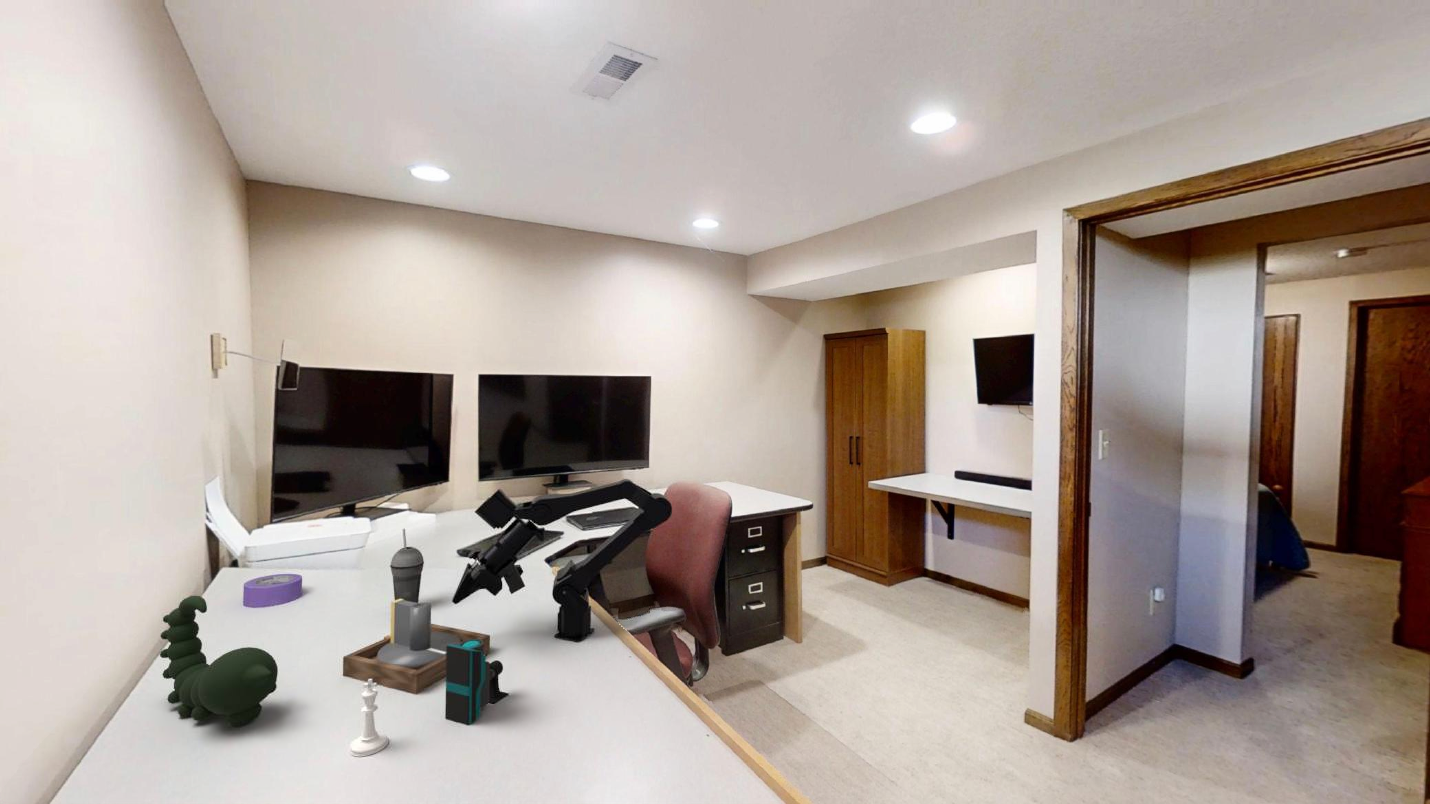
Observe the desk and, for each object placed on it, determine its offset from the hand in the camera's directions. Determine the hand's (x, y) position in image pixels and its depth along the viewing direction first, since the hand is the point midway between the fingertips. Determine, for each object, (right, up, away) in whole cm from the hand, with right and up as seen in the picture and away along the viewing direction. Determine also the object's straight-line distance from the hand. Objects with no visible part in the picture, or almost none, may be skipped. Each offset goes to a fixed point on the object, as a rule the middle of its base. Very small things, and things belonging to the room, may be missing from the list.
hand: (453, 602), depth 117 cm
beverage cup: (-21, -9, +20) cm, 30 cm away
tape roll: (-58, -9, +27) cm, 65 cm away
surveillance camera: (+14, -10, -21) cm, 28 cm away
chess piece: (+2, -10, -33) cm, 34 cm away
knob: (-4, -8, -6) cm, 11 cm away
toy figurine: (-27, -9, -25) cm, 38 cm away
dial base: (-4, -10, -6) cm, 12 cm away
